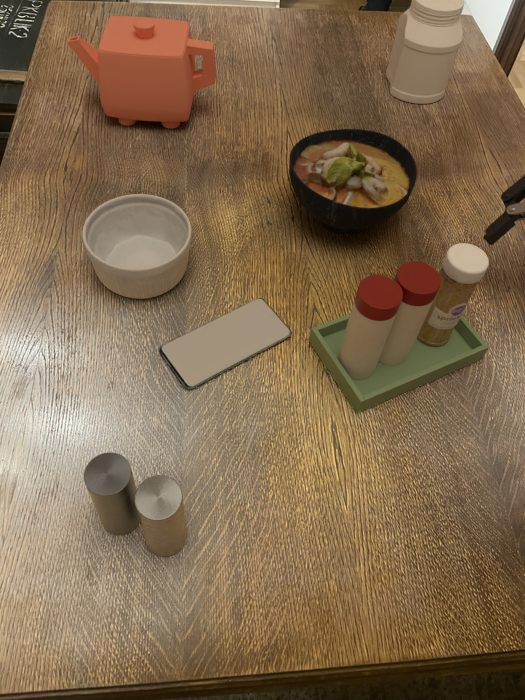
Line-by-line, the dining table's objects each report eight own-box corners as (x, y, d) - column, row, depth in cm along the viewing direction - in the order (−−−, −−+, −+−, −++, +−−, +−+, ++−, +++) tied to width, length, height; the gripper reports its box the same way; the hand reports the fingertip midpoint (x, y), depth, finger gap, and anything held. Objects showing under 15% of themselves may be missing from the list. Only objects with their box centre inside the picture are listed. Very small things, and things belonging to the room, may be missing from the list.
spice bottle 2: (415, 359, 73) (449, 287, 62) (382, 370, 71) (411, 299, 61) (396, 330, 75) (426, 256, 64) (363, 340, 74) (389, 267, 63)
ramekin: (200, 301, 76) (199, 263, 71) (93, 314, 74) (83, 275, 68) (185, 229, 84) (183, 189, 78) (88, 238, 81) (79, 198, 76)
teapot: (73, 127, 95) (54, 37, 84) (88, 82, 103) (72, -6, 91) (212, 137, 96) (212, 49, 85) (218, 92, 104) (218, 6, 92)
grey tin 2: (192, 547, 58) (188, 510, 50) (152, 563, 57) (142, 527, 49) (179, 510, 61) (173, 468, 52) (140, 524, 59) (128, 484, 51)
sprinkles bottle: (432, 353, 73) (470, 278, 62) (406, 328, 75) (438, 251, 64) (457, 336, 75) (499, 261, 64) (431, 312, 77) (467, 235, 66)
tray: (428, 295, 80) (434, 282, 77) (481, 359, 74) (489, 346, 72) (308, 340, 74) (311, 327, 72) (356, 413, 68) (361, 401, 66)
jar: (383, 67, 112) (404, -21, 100) (434, 70, 112) (460, -17, 100) (392, 103, 105) (415, 14, 93) (446, 105, 106) (476, 17, 94)
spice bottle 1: (382, 373, 71) (411, 301, 61) (348, 384, 70) (371, 314, 59) (363, 343, 74) (389, 269, 63) (330, 354, 72) (350, 281, 62)
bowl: (424, 231, 87) (446, 174, 79) (326, 272, 81) (339, 215, 73) (355, 163, 95) (368, 105, 87) (261, 196, 89) (266, 137, 81)
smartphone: (156, 347, 71) (261, 296, 77) (157, 350, 71) (260, 298, 77) (187, 390, 68) (294, 333, 74) (187, 392, 68) (293, 335, 74)
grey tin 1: (147, 526, 59) (136, 486, 51) (107, 541, 58) (89, 502, 50) (136, 490, 61) (124, 446, 53) (96, 504, 60) (78, 461, 52)
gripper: (580, 108, 66) (462, 216, 72) (684, 188, 59) (544, 301, 65) (590, 139, 72) (480, 236, 78) (686, 215, 65) (557, 316, 71)
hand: (509, 265), depth 71 cm, fingers open, 8 cm apart
